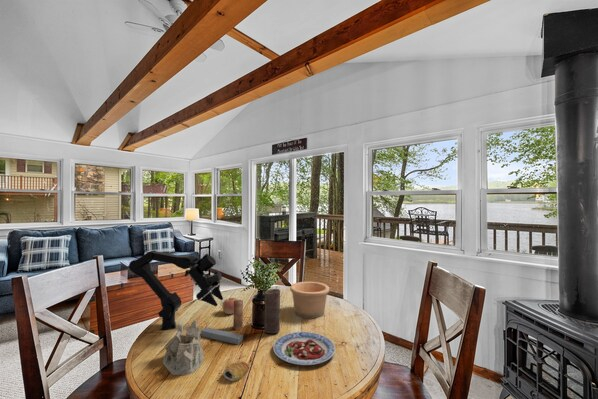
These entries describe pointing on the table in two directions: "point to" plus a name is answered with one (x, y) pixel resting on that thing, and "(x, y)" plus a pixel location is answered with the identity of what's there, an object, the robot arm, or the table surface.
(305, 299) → the pottery
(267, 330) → the candle
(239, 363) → the pastry
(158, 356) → the table surface
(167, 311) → the robot arm
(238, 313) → the rod
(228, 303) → the apple
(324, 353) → the ceramic plate
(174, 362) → the grey castle model
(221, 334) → the ridge
